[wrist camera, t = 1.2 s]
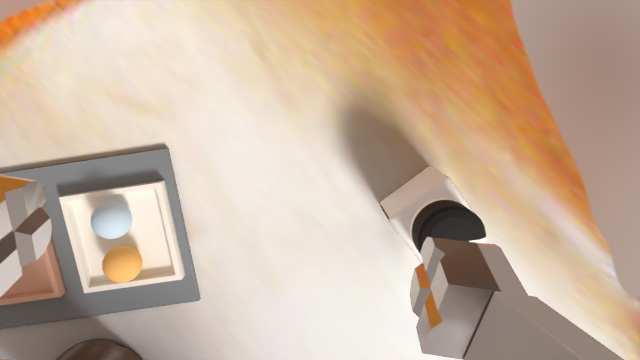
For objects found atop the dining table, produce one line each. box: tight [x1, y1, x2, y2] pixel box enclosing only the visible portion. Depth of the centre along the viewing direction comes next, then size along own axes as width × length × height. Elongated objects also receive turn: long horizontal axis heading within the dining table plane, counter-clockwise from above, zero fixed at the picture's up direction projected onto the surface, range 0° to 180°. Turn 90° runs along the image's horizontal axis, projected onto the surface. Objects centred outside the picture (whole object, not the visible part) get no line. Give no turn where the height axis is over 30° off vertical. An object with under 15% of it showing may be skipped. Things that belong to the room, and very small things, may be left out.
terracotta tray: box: [0, 205, 67, 305], centre depth 48 cm, size 11×11×1 cm
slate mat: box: [0, 148, 200, 329], centre depth 49 cm, size 18×27×1 cm, turn 98°
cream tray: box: [59, 180, 186, 293], centre depth 48 cm, size 11×11×1 cm
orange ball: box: [102, 245, 142, 283], centre depth 46 cm, size 4×4×4 cm
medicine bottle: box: [380, 167, 487, 264], centre depth 43 cm, size 7×7×12 cm
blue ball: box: [91, 201, 132, 239], centre depth 46 cm, size 4×4×4 cm
